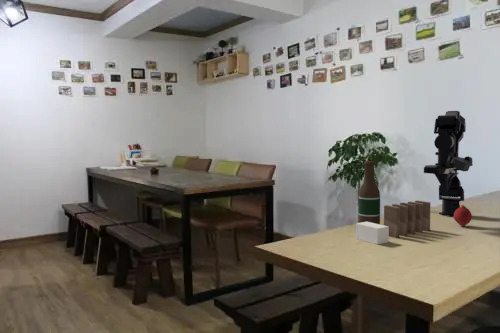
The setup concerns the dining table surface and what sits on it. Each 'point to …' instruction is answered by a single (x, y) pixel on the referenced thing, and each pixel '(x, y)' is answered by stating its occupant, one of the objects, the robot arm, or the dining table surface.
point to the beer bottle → (369, 197)
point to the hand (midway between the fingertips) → (445, 191)
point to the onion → (462, 215)
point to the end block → (372, 232)
